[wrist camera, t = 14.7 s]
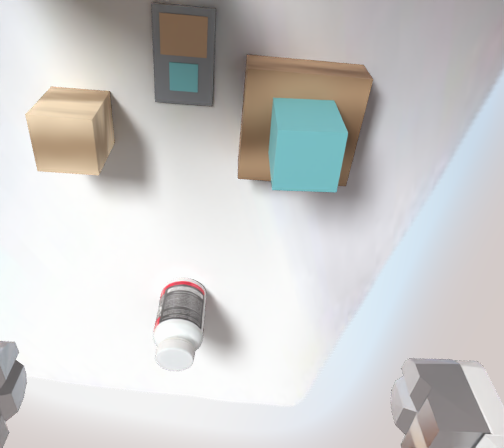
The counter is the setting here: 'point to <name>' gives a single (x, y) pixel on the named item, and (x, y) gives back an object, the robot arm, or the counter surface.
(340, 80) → the walnut plinth
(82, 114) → the birch block
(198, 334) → the pill bottle
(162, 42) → the card
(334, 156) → the teal block
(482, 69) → the counter surface
